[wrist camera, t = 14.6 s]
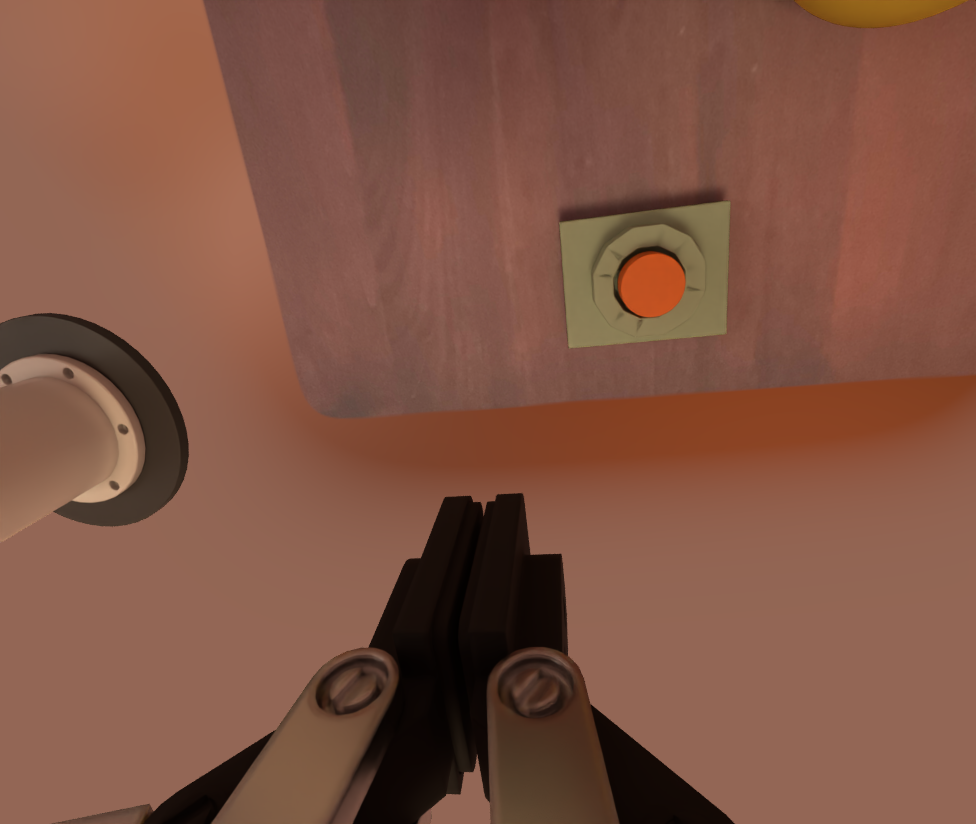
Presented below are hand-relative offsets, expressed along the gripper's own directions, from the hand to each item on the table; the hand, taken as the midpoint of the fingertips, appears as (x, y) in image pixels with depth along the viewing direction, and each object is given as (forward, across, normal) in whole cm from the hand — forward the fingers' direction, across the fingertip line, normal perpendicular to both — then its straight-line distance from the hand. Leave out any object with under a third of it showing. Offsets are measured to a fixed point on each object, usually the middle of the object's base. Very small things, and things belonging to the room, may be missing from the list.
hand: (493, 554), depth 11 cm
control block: (+27, -7, -2) cm, 28 cm away
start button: (+24, -7, -2) cm, 25 cm away
